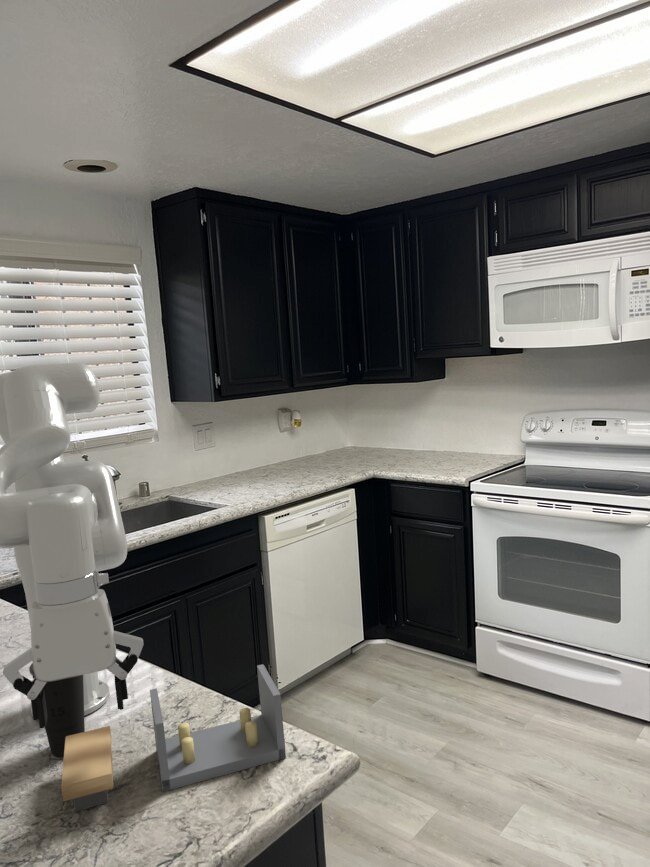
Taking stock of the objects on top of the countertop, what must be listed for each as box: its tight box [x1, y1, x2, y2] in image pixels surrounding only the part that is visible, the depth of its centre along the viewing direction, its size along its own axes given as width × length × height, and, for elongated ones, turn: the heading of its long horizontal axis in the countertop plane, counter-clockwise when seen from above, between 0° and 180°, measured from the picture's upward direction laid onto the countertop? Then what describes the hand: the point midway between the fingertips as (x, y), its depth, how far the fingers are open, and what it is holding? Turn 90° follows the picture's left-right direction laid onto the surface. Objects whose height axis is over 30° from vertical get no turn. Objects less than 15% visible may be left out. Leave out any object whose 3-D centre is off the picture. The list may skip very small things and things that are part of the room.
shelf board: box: [60, 725, 114, 802], centre depth 88 cm, size 12×6×2 cm, turn 19°
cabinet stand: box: [149, 663, 287, 793], centre depth 93 cm, size 10×17×10 cm, turn 109°
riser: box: [73, 790, 108, 812], centre depth 88 cm, size 8×4×3 cm, turn 19°
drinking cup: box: [28, 662, 86, 758], centre depth 97 cm, size 8×8×20 cm
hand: (82, 714), depth 86 cm, fingers open, 9 cm apart
